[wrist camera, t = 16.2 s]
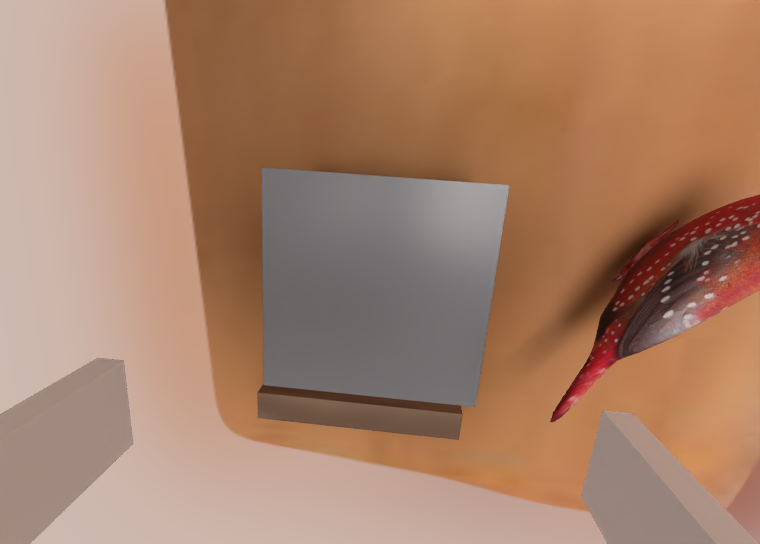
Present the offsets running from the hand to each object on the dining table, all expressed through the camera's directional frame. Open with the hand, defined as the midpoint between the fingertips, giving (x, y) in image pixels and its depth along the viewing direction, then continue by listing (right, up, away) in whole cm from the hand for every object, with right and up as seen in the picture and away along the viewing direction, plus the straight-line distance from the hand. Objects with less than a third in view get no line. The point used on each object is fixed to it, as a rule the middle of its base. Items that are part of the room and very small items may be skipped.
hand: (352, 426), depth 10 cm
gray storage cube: (+1, +5, +15) cm, 16 cm away
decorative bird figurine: (+16, +4, +14) cm, 22 cm away
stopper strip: (-1, -5, +17) cm, 18 cm away
